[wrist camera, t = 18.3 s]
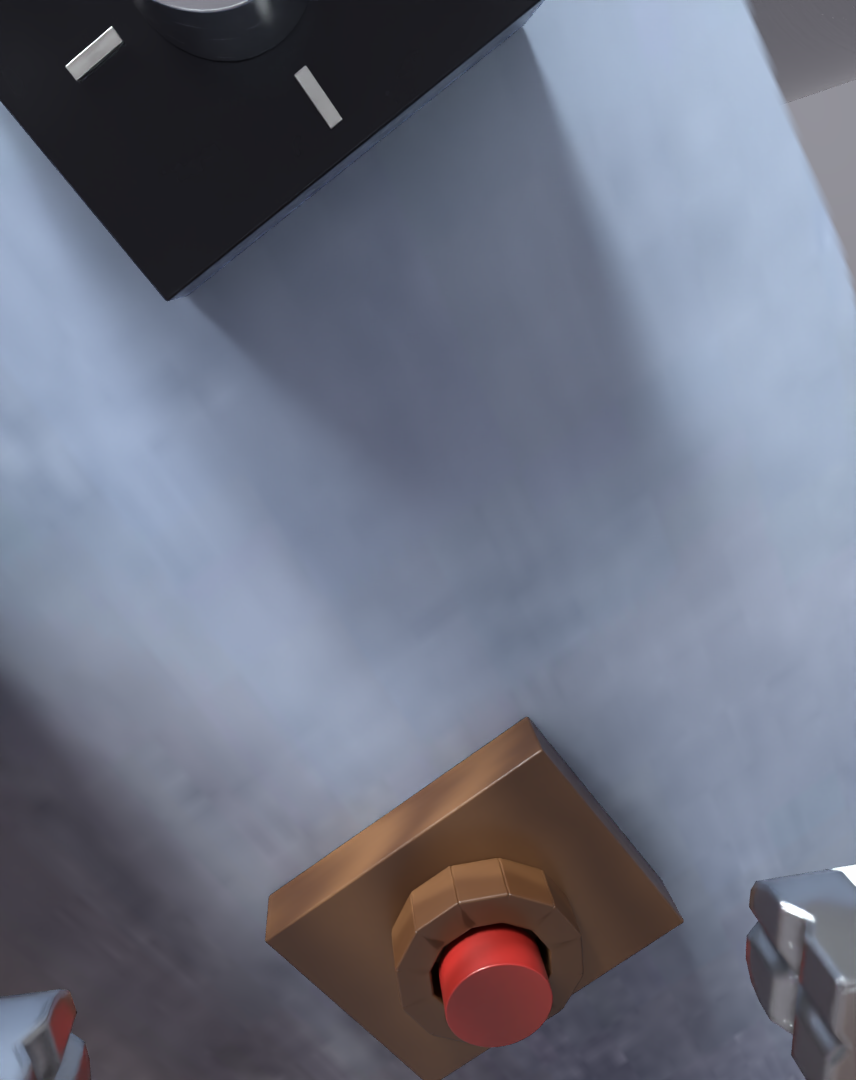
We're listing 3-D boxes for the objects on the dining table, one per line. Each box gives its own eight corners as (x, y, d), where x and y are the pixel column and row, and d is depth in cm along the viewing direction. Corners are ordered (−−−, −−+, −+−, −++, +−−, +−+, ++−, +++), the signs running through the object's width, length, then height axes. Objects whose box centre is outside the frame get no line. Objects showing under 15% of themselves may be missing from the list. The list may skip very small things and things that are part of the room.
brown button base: (526, 714, 29) (557, 781, 25) (662, 880, 32) (706, 961, 29) (268, 895, 30) (260, 985, 27) (423, 1037, 34) (436, 1134, 30)
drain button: (502, 904, 27) (513, 946, 26) (559, 964, 28) (573, 1008, 27) (417, 961, 28) (423, 1006, 26) (477, 1018, 29) (486, 1064, 27)
